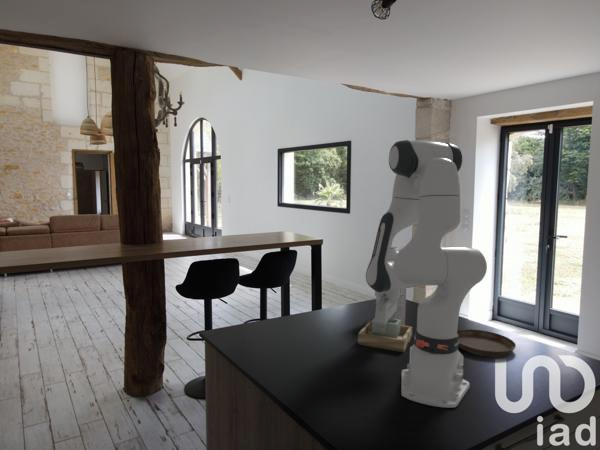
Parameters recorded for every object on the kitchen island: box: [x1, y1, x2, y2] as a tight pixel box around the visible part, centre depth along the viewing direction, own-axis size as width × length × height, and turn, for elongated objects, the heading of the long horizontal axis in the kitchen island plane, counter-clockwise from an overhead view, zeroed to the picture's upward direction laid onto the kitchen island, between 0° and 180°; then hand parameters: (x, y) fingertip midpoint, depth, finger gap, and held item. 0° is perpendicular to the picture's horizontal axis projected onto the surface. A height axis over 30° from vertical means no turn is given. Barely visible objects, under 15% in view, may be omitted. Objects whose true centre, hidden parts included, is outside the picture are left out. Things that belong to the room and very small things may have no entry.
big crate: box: [357, 320, 413, 353], centre depth 152 cm, size 16×16×4 cm
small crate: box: [371, 317, 401, 338], centre depth 151 cm, size 6×9×5 cm, turn 65°
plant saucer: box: [457, 328, 517, 358], centre depth 147 cm, size 21×21×3 cm
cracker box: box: [375, 288, 407, 326], centre depth 170 cm, size 14×6×21 cm, turn 19°
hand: (386, 329), depth 151 cm, fingers closed on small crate, 6 cm apart
